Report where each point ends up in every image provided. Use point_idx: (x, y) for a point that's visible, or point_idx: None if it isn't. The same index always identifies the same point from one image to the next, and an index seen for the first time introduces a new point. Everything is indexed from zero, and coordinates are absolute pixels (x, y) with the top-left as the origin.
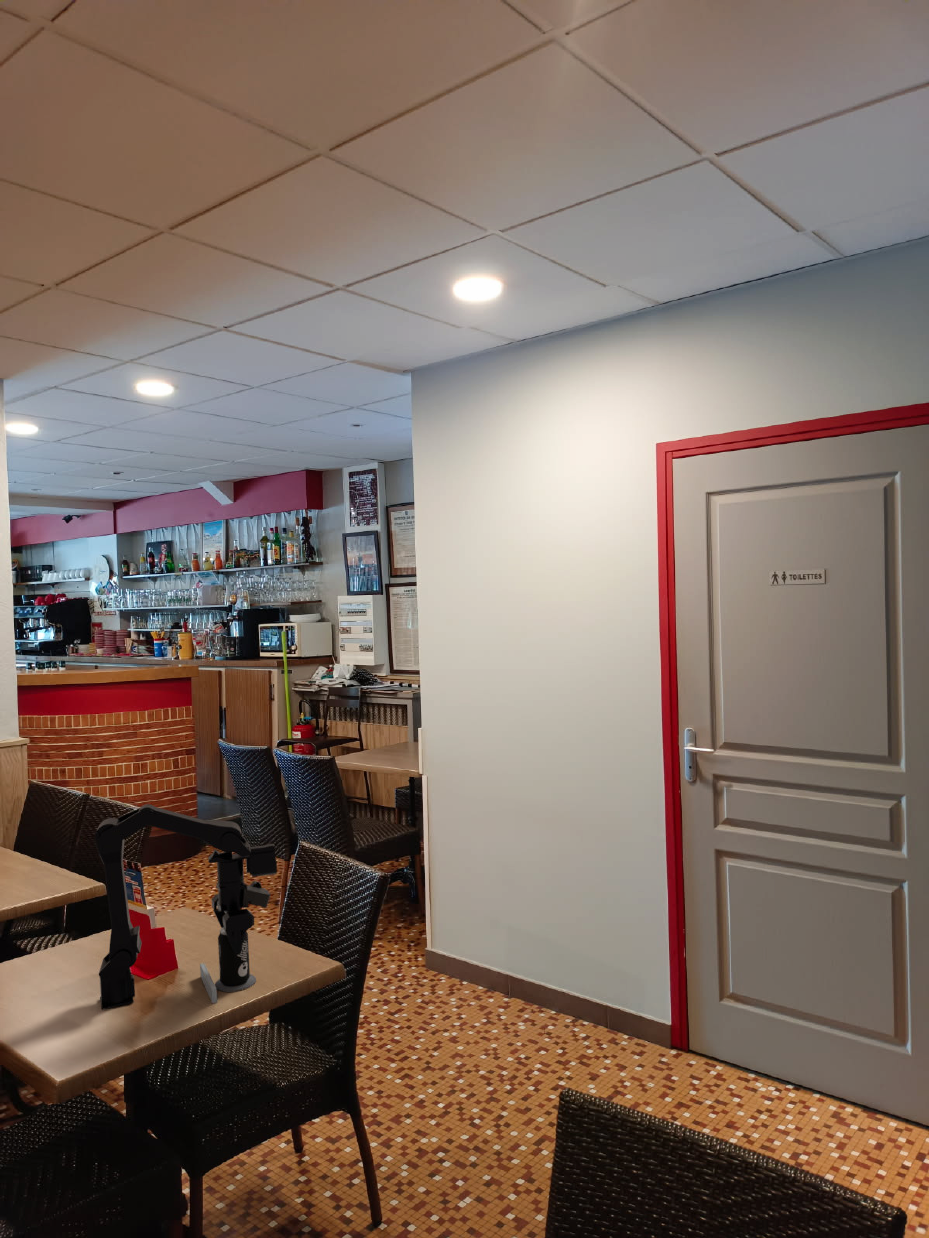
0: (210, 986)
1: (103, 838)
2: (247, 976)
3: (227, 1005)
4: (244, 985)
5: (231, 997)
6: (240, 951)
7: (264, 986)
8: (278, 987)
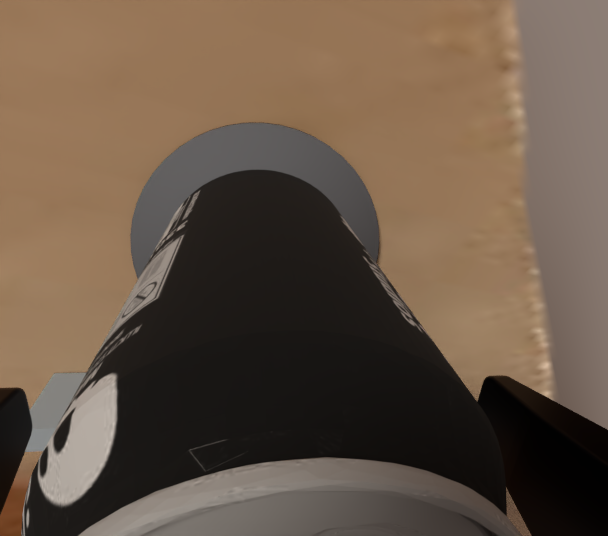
0: None
1: None
2: (332, 204)
3: (496, 332)
4: (349, 220)
5: (426, 302)
6: (528, 391)
7: (413, 104)
8: (491, 22)
